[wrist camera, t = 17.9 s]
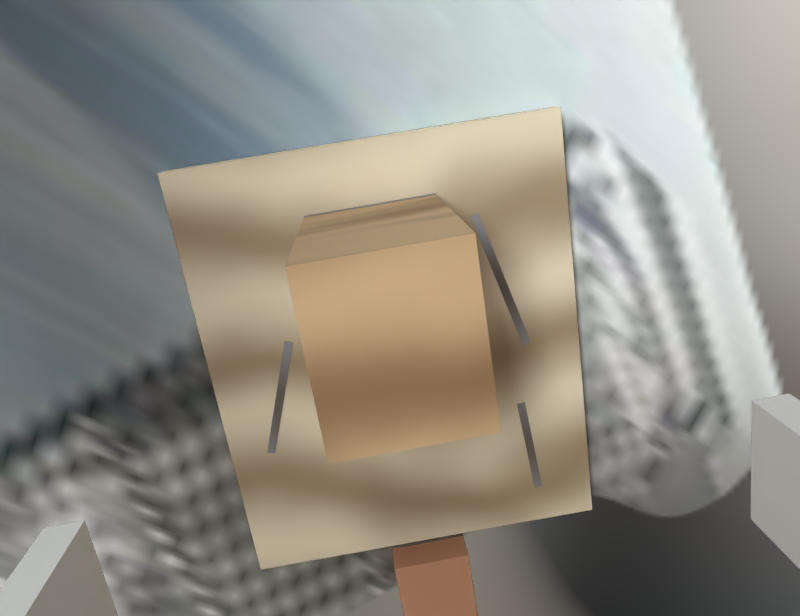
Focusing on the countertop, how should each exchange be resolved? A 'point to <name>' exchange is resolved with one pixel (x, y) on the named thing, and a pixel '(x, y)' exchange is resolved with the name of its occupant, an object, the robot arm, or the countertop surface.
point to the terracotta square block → (435, 579)
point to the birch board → (285, 362)
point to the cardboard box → (393, 327)
